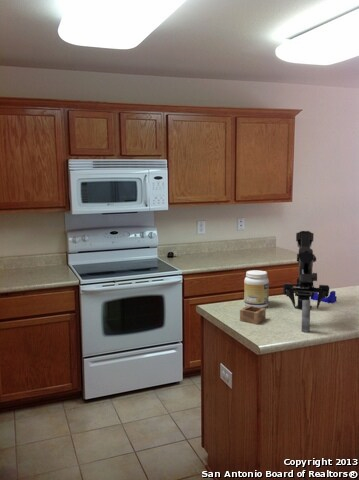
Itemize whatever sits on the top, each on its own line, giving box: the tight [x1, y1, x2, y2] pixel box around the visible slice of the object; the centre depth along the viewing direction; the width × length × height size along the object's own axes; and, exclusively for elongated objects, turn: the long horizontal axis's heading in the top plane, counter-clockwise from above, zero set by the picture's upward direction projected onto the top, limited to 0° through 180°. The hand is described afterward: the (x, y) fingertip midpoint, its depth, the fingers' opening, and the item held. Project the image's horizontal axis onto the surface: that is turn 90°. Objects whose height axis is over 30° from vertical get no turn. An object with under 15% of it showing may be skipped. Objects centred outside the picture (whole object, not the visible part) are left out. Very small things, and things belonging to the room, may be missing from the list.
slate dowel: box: [301, 299, 311, 334], centre depth 173 cm, size 3×3×13 cm
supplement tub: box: [243, 269, 270, 308], centre depth 210 cm, size 12×12×17 cm
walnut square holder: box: [239, 306, 266, 325], centre depth 189 cm, size 8×8×5 cm
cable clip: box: [310, 286, 338, 305], centre depth 216 cm, size 12×4×6 cm, turn 45°
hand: (306, 307), depth 175 cm, fingers open, 9 cm apart
